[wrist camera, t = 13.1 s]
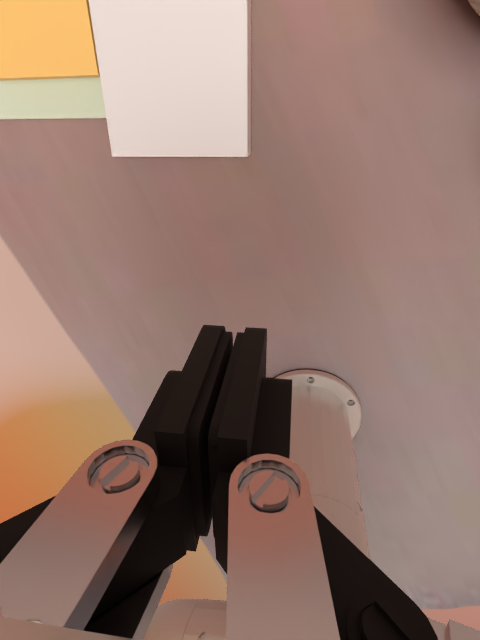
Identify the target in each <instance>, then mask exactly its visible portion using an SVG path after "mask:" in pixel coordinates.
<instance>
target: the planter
mask: <svg viewBox="0 0 480 640" xmlns="http://www.w3.org/2000/svg"><path fill="white" fill-rule="evenodd" d="M468 2H469V3H470V5H471V6H472V8H473V9H474V10H475V12H476V13H477V14H478V15H479V16H480V0H468Z"/></svg>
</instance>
